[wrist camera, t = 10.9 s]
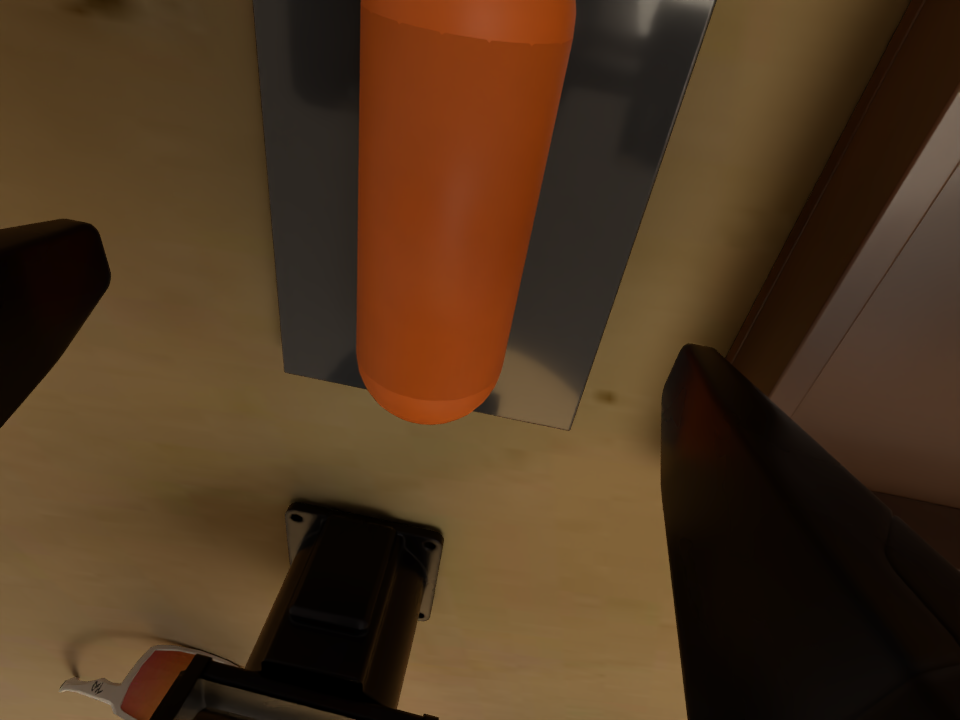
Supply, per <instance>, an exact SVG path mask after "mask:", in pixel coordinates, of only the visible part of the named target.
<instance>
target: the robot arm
mask: <svg viewBox="0 0 960 720" xmlns="http://www.w3.org/2000/svg"><path fill="white" fill-rule="evenodd" d="M110 280H111V272H110V268H109V264H108V261H107V258H106V254H105V251H104V247H103V244H102V240H101V237H100V234H99V232H98V230H97V229H96V228H95V227H94V226H93V225H91V224H89V223H85V222H80V221H75V220H70V219H57V220H51V221H46V222H40V223H34V224H28V225H22V226H16V227H11V228H5V229H0V428H1V427H2V426H3V425H4V424H5V422H6V421H7V420H8V419H9V418H10V417H11V415H12V414H13V413H14V412H15V411H16V410H17V408H18V407H19V406H20V405H21V404H22V403H23V401H24V400H25V399H26V398H27V397H28V396H29V394H30V393H31V392H32V391H33V390H34V389H35V387H36V386H37V385H38V384H39V383H40V382H41V380H42V379H43V378H44V377H45V376H46V375H47V373H48V372H49V371H50V370H51V369H52V367H53V366H54V365H55V364H56V362H57V361H58V360H59V358H60V357H61V356H62V354H63V353H64V352H65V350H66V349H67V347H68V346H69V344H70V343H71V341H72V340H73V338H74V337H75V336H76V334H77V333H78V331H79V330H80V328H81V327H82V325H83V324H84V322H85V321H86V319H87V318H88V317H89V315H90V314H91V312H92V311H93V309H94V308H95V306H96V305H97V303H98V302H99V300H100V299H101V298H102V296H103V295H104V293H105V292H106V290H107V289H108V287H109V284H110ZM661 492H662V503H663V511H664V520H665V529H666V537H667V546H668V555H669V563H670V572H671V580H672V589H673V598H674V606H675V615H676V623H677V632H678V641H679V649H680V658H681V667H682V675H683V684H684V692H685V701H686V710H687V718H688V720H960V571H959V570H958V569H957V568H955V567H954V566H953V565H952V564H951V563H950V562H949V561H947V560H946V559H945V558H944V557H943V556H942V555H941V554H940V553H938V552H937V551H936V550H935V549H934V548H933V547H932V546H931V545H929V544H928V543H927V542H926V541H925V540H924V539H923V538H921V537H920V536H919V535H918V534H917V533H916V532H915V531H914V530H913V529H912V528H911V527H910V526H908V525H907V524H906V523H905V522H904V521H903V520H902V519H901V518H900V517H899V516H892V515H893V512H892V510H891V509H890V508H889V507H888V506H886V505H885V504H884V503H883V502H882V501H881V500H880V499H879V498H878V497H877V496H875V495H874V494H873V493H872V492H871V491H870V490H869V489H868V488H867V487H866V486H865V485H863V484H862V483H861V482H860V481H859V480H858V479H857V478H856V477H855V476H854V475H852V474H851V473H850V472H849V471H848V470H847V469H846V468H845V467H844V466H843V465H841V464H840V463H839V462H838V461H837V460H836V459H835V458H834V457H833V456H832V455H831V454H829V453H828V452H827V451H826V450H825V449H824V448H823V447H822V446H821V445H820V444H818V443H817V442H816V441H815V440H814V439H813V438H812V437H811V436H810V435H809V434H808V433H806V432H805V431H804V430H803V429H802V428H801V427H800V426H799V425H798V424H797V423H795V422H794V421H793V420H792V419H791V418H790V417H789V416H788V415H787V414H786V413H784V412H783V411H782V410H781V409H780V408H779V407H778V406H777V405H776V404H775V403H774V402H772V401H771V400H770V399H769V398H768V397H767V396H766V395H765V394H764V393H763V392H761V391H760V390H759V389H758V388H757V387H756V386H755V385H754V384H753V383H752V382H751V381H749V380H748V379H747V378H746V377H745V376H744V375H743V374H742V373H741V372H740V371H738V370H737V369H736V368H735V367H734V366H733V365H732V364H731V363H730V362H729V361H727V360H726V359H725V358H724V357H723V356H722V355H721V354H720V353H719V352H718V351H717V350H715V349H714V348H711V347H707V346H702V345H697V344H691V343H688V344H686V345H684V346H683V347H682V349H681V350H680V352H679V354H678V357H677V359H676V361H675V363H674V365H673V368H672V370H671V372H670V374H669V377H668V379H667V381H666V383H665V386H664V389H663V393H662V413H661ZM285 522H286V531H287V541H288V550H289V560H290V569H289V571H288V573H287V576H286V578H285V580H284V582H283V584H282V587H281V589H280V591H279V593H278V595H277V598H276V600H275V602H274V604H273V607H272V609H271V611H270V613H269V615H268V618H267V620H266V622H265V624H264V626H263V629H262V631H261V633H260V635H259V638H258V640H257V642H256V644H255V646H254V649H253V651H252V653H251V655H250V657H249V660H248V662H247V664H246V666H245V668H244V669H243V668H239V667H235V666H232V665H228V664H224V663H220V662H216V661H213V658H212V657H209V656H206V655H202V654H198V653H197V654H196V655H195V656H194V658H193V659H192V661H191V662H190V664H189V665H188V667H187V669H186V670H184V671H180V673H179V675H178V677H177V678H176V679H175V681H174V682H173V684H172V686H171V687H170V689H169V690H168V692H167V693H166V695H165V696H164V698H163V699H162V701H161V702H160V704H159V705H158V707H157V708H156V710H155V711H154V713H153V714H152V716H151V718H150V719H149V720H439V717H435V716H432V715H428V714H424V715H423V716H420V715H416V714H413V713H409V712H405V711H401V710H397V706H398V702H399V698H400V693H401V689H402V685H403V681H404V676H405V672H406V668H407V664H408V659H409V655H410V651H411V647H412V642H413V638H414V634H415V630H416V625H417V621H426V620H428V619H429V618H430V614H431V609H432V604H433V598H434V593H435V587H436V581H437V576H438V570H439V565H440V559H441V554H442V548H443V542H444V538H443V536H442V535H441V534H440V533H438V532H436V531H432V530H428V529H423V528H418V527H413V526H409V525H404V524H399V523H394V522H390V521H385V520H380V519H375V518H371V517H366V516H361V515H356V514H351V513H347V512H342V511H337V510H332V509H328V508H323V507H318V506H313V505H309V504H304V503H298V502H295V503H291V504H290V505H289V507H288V509H287V511H286V513H285Z"/></svg>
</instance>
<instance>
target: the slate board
mask: <svg viewBox="0 0 960 720" xmlns="http://www.w3.org/2000/svg"><path fill="white" fill-rule="evenodd" d="M716 1H717V0H576V19H575V27H574V35H573V41H572V46H571V51H570V55H569V60H568V65H567V69H566V74H565V79H564V83H563V88H562V92H561V97H560V102H559V106H558V111H557V116H556V120H555V125H554V130H553V134H552V139H551V144H550V148H549V153H548V158H547V162H546V167H545V171H544V176H543V181H542V185H541V190H540V195H539V199H538V204H537V209H536V213H535V218H534V223H533V227H532V232H531V237H530V241H529V246H528V250H527V255H526V260H525V264H524V269H523V274H522V278H521V283H520V288H519V292H518V297H517V302H516V306H515V311H514V316H513V320H512V325H511V330H510V334H509V339H508V343H507V348H506V353H505V357H504V362H503V366H502V370H501V373H500V376H499V379H498V381H497V383H496V385H495V387H494V389H493V390H492V392H491V393H490V395H489V396H488V397H487V398H486V400H485V401H484V402H483V403H482V404H481V405H480V406H478V407H477V408H476V409H475V410H473V411H475V412H480V413H484V414H489V415H494V416H499V417H504V418H509V419H514V420H519V421H523V422H528V423H533V424H538V425H543V426H548V427H553V428H558V429H563V430H567V431H569V430H570V429H571V427H572V424H573V421H574V418H575V415H576V412H577V409H578V406H579V403H580V400H581V397H582V394H583V391H584V388H585V385H586V382H587V380H588V377H589V374H590V371H591V368H592V365H593V362H594V359H595V356H596V353H597V350H598V347H599V344H600V341H601V338H602V336H603V333H604V330H605V327H606V324H607V321H608V318H609V315H610V312H611V309H612V306H613V303H614V300H615V297H616V294H617V292H618V289H619V286H620V283H621V280H622V277H623V274H624V271H625V268H626V265H627V262H628V259H629V256H630V253H631V250H632V247H633V245H634V242H635V239H636V236H637V233H638V230H639V227H640V224H641V221H642V218H643V215H644V212H645V209H646V206H647V203H648V201H649V198H650V195H651V192H652V189H653V186H654V183H655V180H656V177H657V174H658V171H659V168H660V165H661V162H662V159H663V156H664V154H665V151H666V148H667V145H668V142H669V139H670V136H671V133H672V130H673V127H674V124H675V121H676V118H677V115H678V112H679V110H680V107H681V104H682V101H683V98H684V95H685V92H686V89H687V86H688V83H689V80H690V77H691V74H692V71H693V68H694V66H695V63H696V60H697V57H698V54H699V51H700V48H701V45H702V42H703V39H704V36H705V33H706V30H707V27H708V24H709V21H710V19H711V16H712V13H713V10H714V7H715V4H716ZM360 9H361V0H253V10H254V22H255V34H256V46H257V57H258V69H259V81H260V93H261V104H262V116H263V128H264V140H265V151H266V163H267V175H268V187H269V198H270V210H271V222H272V233H273V245H274V257H275V269H276V280H277V292H278V304H279V316H280V327H281V339H282V351H283V363H284V372H285V373H289V374H294V375H299V376H304V377H309V378H314V379H318V380H323V381H328V382H333V383H338V384H343V385H348V386H353V387H357V388H362V389H367V388H366V386H365V384H364V382H363V380H362V377H361V375H360V372H359V368H358V363H357V355H356V325H357V246H358V167H359V88H360Z"/></svg>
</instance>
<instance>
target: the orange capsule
mask: <svg viewBox="0 0 960 720" xmlns="http://www.w3.org/2000/svg"><path fill="white" fill-rule="evenodd" d="M575 19H576V0H361V9H360V88H359V167H358V246H357V325H356V355H357V363H358V368H359V372H360V375H361V377H362V380H363V382H364V384H365V386H366V388H367V390H368V391H369V393H370V394H371V395H372V396H373V398H374V399H375V400H376V401H377V402H378V403H379V405H380V406H382V407H383V408H384V409H386V410H387V411H388V412H390V413H392V414H393V415H395V416H397V417H399V418H401V419H403V420H406V421H409V422H412V423H418V424H427V425H435V424H443V423H447V422H451V421H454V420H457V419H459V418H461V417H464V416H466V415H468V414H469V413H471V412H472V411H473V410H475V409H476V408H477V407H478V406H480V405H481V404H482V403H483V402H484V401H485V400H486V398H487V397H488V396H489V395H490V393H491V392H492V390H493V389H494V387H495V385H496V383H497V381H498V379H499V376H500V373H501V370H502V366H503V362H504V357H505V353H506V348H507V343H508V339H509V334H510V330H511V325H512V320H513V316H514V311H515V306H516V302H517V297H518V292H519V288H520V283H521V278H522V274H523V269H524V264H525V260H526V255H527V250H528V246H529V241H530V237H531V232H532V227H533V223H534V218H535V213H536V209H537V204H538V199H539V195H540V190H541V185H542V181H543V176H544V171H545V167H546V162H547V158H548V153H549V148H550V144H551V139H552V134H553V130H554V125H555V120H556V116H557V111H558V106H559V102H560V97H561V92H562V88H563V83H564V79H565V74H566V69H567V65H568V60H569V55H570V51H571V46H572V41H573V35H574V27H575Z"/></svg>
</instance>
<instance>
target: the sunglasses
mask: <svg viewBox="0 0 960 720" xmlns="http://www.w3.org/2000/svg"><path fill="white" fill-rule="evenodd" d="M197 653H198V654H202V655H206V656H209V657H212V658H213V661H216V662H220V663H224V664H228V665H232V666H235V667H238V666H236V665H234V664H233V663H231V662H229V661H227V660H224V659H222V658H219V657H217V656H214V655H212V654H209V653H206V652H203V651H200V650H195V649H190V648H185V647H180V646H173V645H157V646H153V647H150V649H149V650H148V651H147V652H146V653H145V654H144V655H143V656H142V657H141V658H140V659H139V660H138V661H137V663H136V664H135V665H134V667H133V668H132V669H131V671H130V672H129V673H128V675H127V676H126V678H125V679H124V681H123V682H122V684H119V683H112V682H110V681H108V680H107V679H105V678H101V679H98V680H94V681H88V682H86V681H80V680H79V677H74V678H71V679H68V680H66V681H65V682H64V683H63V684H62V686H61V687H60V690H59V692H61V693H62V692H65V691H72V692H77V693H80V694H82V695H85V696H88V697H91V698H94V699H96V700H99V701H102V702H104V703H107V704H109V705H111V707H112V710H113V713H114V714H116V715H118V716H119V717H121V718H123V719H125V720H149V719H150V718H151V716H152V714H153V713H154V711H155V710H156V708H157V707H158V705H159V704H160V702H161V701H162V699H163V698H164V696H165V695H166V693H167V692H168V690H169V689H170V687H171V686H172V684H173V682H174V681H175V679H176V678H177V677H178V675H179V673H180V671H184V670H186V669H187V667H188V665H189V664H190V662H191V661H192V659H193V658H194V656H195V655H196V654H197ZM239 668H240V667H239Z"/></svg>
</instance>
